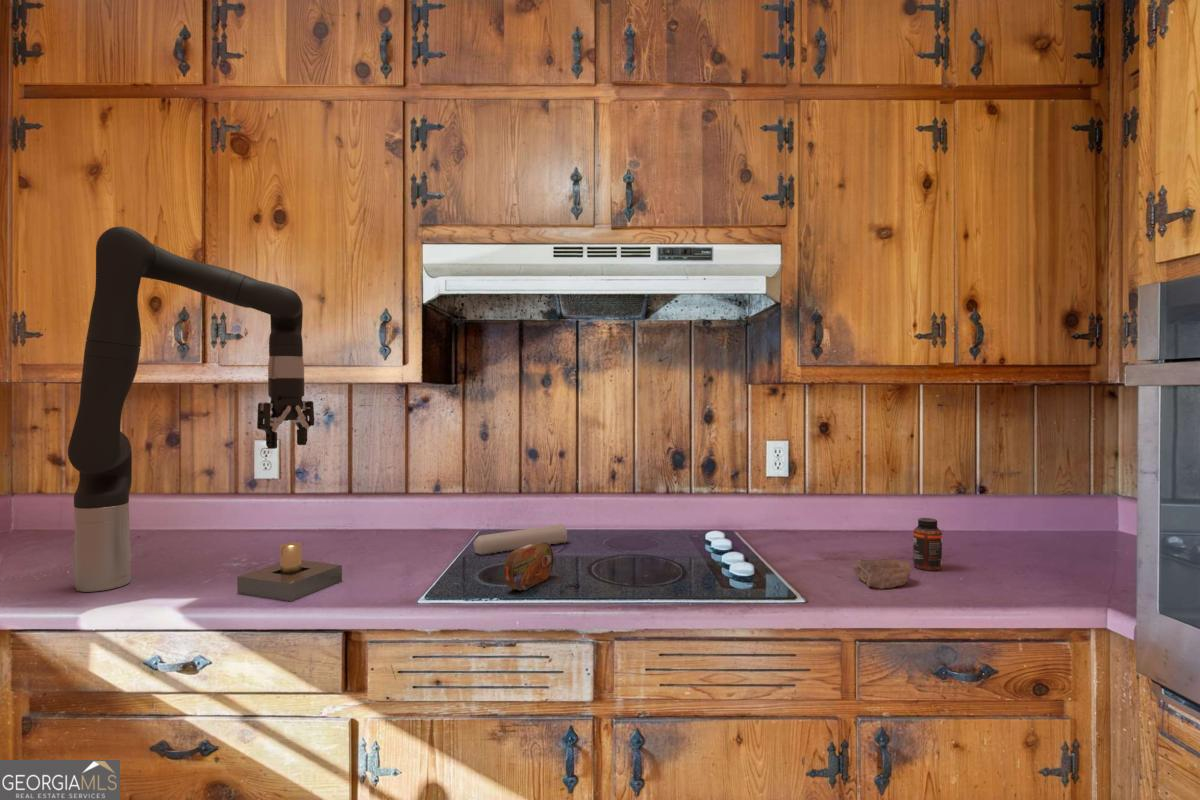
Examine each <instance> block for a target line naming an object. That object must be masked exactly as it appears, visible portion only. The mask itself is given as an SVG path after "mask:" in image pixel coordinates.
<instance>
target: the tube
mask: <svg viewBox="0 0 1200 800" xmlns="http://www.w3.org/2000/svg"><path fill="white" fill-rule="evenodd" d="M567 541H568V529H567V527H566V526H565V524H563V523H558V524H553V525H548V526H540V527H533V528H532V527H531V528H525V529H518V530H510V531H503V532H496V533H489V534H482V535H478V536H477V537H476V538H475V539H474V541H473V548H474V553H475V554H477V555H480V556H485V555H484V554H488V555H492V554H491V553H494V554H498V553H497V552H501V553H504V552H503V551H508V552H510V551H509V550H516V549H519V548H521V547H524V546H526V545H529V544H531V543H534V542H546V543H548V544H549V545H550V546H552V545H551V544H555V545H559V544H558V543H562V544H563V543H564V544H566V543H567Z"/></svg>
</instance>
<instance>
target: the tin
mask: <svg viewBox="0 0 1200 800" xmlns="http://www.w3.org/2000/svg"><path fill="white" fill-rule="evenodd" d="M503 566H504V570H503V571H504V572H503V574H504V580H505V584H506V586H507V587H508V588H509V589H511V590H514V591H515V590H516V591H519V592H522V591H521V590H523V589H525V588H527V587H529V586H531V585H534V584H537V583H539V582H541V583H543V582H545V581H546V580H548V578H549V577H550V576H551V573H552V571H553V568H554V552H553V548H552V547H551V545H549V544H548V543H546V542H534V543H531V544H529V545H526V546H524V547H521V548H519V549H516V550H514V551H510V553H509V554H508V555H507V557H506V559H505V562H504V565H503ZM544 580H545V581H544ZM542 581H543V582H542ZM539 584H540V583H539ZM537 585H538V584H537Z"/></svg>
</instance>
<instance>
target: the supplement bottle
mask: <svg viewBox="0 0 1200 800" xmlns="http://www.w3.org/2000/svg"><path fill="white" fill-rule="evenodd" d="M912 538H913V543H912V544H913V549H912V550H913V552H912V553H913V556H912V558H913V563H912V564H913V566H914V567H915V568H916V569H919V570H923V571H931V572H932V571H933V572H934V571H939V570H941V569H942V568H943V567H942V566H943V532H942V530H941V529H940V528H939V527H938V519H936V518H930V517H919V518H918V519H917V526H916V527H915V528H914V529H913V537H912Z"/></svg>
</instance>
